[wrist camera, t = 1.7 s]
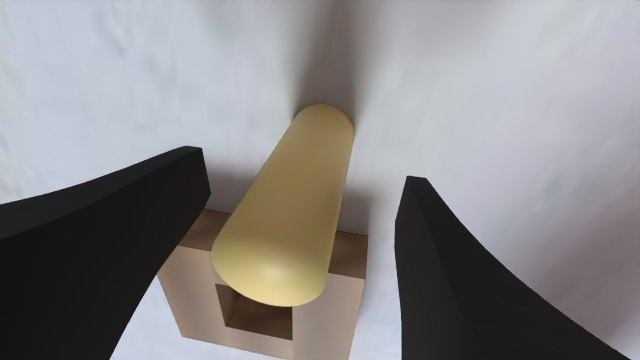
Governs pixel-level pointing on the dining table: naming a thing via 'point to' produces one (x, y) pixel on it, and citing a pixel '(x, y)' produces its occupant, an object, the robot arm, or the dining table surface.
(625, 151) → the dining table surface
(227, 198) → the dining table surface
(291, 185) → the dowel
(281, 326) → the socket
